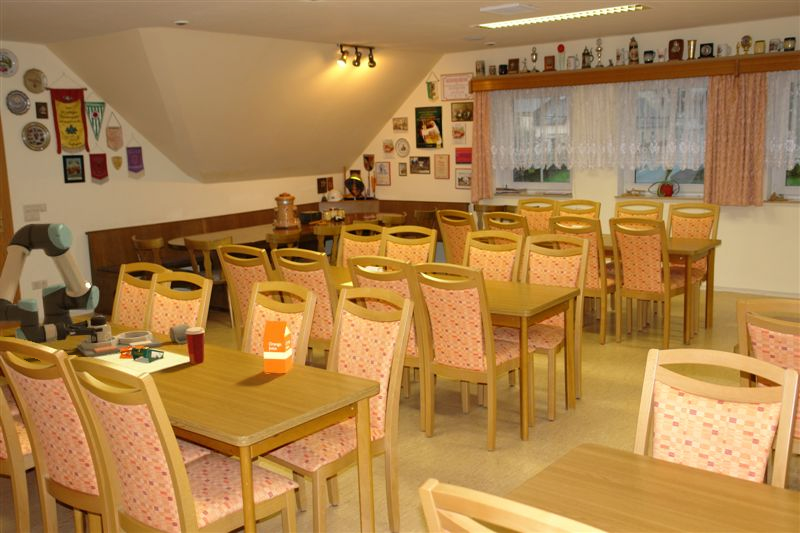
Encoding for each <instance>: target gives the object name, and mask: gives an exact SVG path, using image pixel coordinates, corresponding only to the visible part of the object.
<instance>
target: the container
mask: <svg viewBox="0 0 800 533" xmlns="http://www.w3.org/2000/svg"><path fill="white" fill-rule="evenodd" d="M89 322H91V327H92V328H94V327H99V326H106V325H107V317H106V316H103V315H96V316H92V317H91V318H90V321H89ZM86 336H87V338H88V343H102V342H108V341H111V340H112V338H111V336H112V328H111V326H110V331H109V332H102V333H95V335H94V336H93V335H86Z"/></svg>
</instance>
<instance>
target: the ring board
mask: <svg viewBox="0 0 800 533" xmlns="http://www.w3.org/2000/svg"><path fill="white" fill-rule="evenodd" d="M111 338H112V340H111V341H108V342H102V343H88V337H87V338H85V339H82V340H81V341H80V343H78V344H76V348H77V349H78V351H80V353H82V354H83V356H84V357H85V358H87V357H90V358H95V357H101V356H108V355H107V354H110V355H112V354H111V353H116V354H119V353H118V352H120V349H121V348H124V347H128V346H131V347H132V346H144V347H149V348H148V349H154V348H160V347H161V348H162V347H163V343H162V342H161V341H159V340H158V339H157V338H155V337H154V336H153V333H152V332H151V331H150V330H132V331H127V332H126V331H125V332H122V333H119V334H117V335H111Z"/></svg>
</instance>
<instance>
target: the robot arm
mask: <svg viewBox="0 0 800 533" xmlns="http://www.w3.org/2000/svg"><path fill="white" fill-rule="evenodd" d="M72 245H73V236H72V231H71V229H70V228H69V227H68V225H66V224H65V223H58V222H53V223H52V222H51V223H50V222H49V223H48V222H47V223H29V224H25V225H23V226H22V227H20V228H19V229H18V230H17V231H15V233H13V235H12V237H11V238H10V240H9V242H8V244H7V247H6V251H7V256H6V259H5V263H4V266H3V268H2V272H1V274H0V323H19V327H18V328H16V329H15V330H14V333H15V336H14V337H15V339H16V338H19V339H24V340H28V341H32V342H35V343H38V344H45V343H48V344H51V343H52V342H56V341H57V342H59V341H65V340H67V336H68V335H70V337H75V336H87V335H93V336H94V335H95V333H102V332H109V331H110V327H111V324H106V326H99V327H94V328H92V327H91V322H90V321H88V320H87V319H86V320H84V321H79V322H76V323H75V322H74V321H73V318H72V316H71V313H70V311H89V310H95V309H96V308H97V306H98V305H99V301H100V290H99V287H98V286H96V285H91V282H89V280H87V279H85V278H84V275H83V274H82V272H81V270H80V268H79V265H78V263H77V262H76V260H75V257H74V255H73V254H72V251H71V250H70V249H71V246H72ZM33 250H42V251H43V252H44V254H45V255H46V256H47V257H49V258H51V260H52V261H53V264H54V265H55V267H56V269H57V271H58V273H59V276H60V277H61V280H62V281H63V283H56V284H52V285H47V286H44V287H43V288H42V289H41V298H42V308H43V317H44V318H43V321H42V324H41V325H40V314H39V307H38V301H37V300H36V299H35V298H23V299H20V300H19V299H18V301H17V303H14V299H15V296H16V293H17V289H18V287H19V283H20V280H21V276H22V273H23V271H24V266H25V264H26V260H27V258H28V257H30V255H31V253H32V251H33ZM13 303H14V304H13Z"/></svg>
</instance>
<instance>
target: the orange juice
mask: <svg viewBox="0 0 800 533" xmlns="http://www.w3.org/2000/svg"><path fill="white" fill-rule="evenodd" d="M262 342H263V343H262V344H263V346H262V347H263V361H264V364H263V365H264V373H265V372H277V373H286V372H288V371H289V370H290V369H291V368H292V369H293V350H292V349H293V348H292V333H291V330H290V327H289V324H288V321H286V320H285V321H284V320H283V321H281V320H280V321H279V320H266V321H265V325H264V331H263V336H262ZM292 369H291V370H292ZM291 370H290V371H291ZM290 371H289V372H290ZM289 372H288V373H289Z"/></svg>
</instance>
